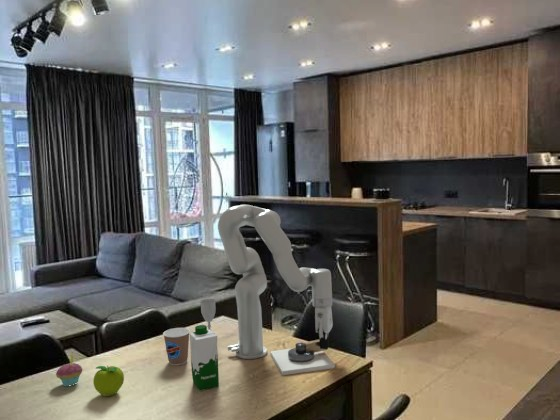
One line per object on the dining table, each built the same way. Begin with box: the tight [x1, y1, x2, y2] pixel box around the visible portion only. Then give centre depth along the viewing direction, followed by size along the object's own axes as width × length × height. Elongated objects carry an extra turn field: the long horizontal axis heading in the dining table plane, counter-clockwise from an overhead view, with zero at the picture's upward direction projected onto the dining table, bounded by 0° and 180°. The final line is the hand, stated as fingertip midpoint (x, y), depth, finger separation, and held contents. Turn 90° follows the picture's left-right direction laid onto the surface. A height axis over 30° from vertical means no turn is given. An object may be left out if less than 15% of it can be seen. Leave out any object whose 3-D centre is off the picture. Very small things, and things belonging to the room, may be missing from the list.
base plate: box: [269, 347, 336, 376], centre depth 181 cm, size 20×20×2 cm
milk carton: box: [189, 324, 220, 391], centre depth 163 cm, size 9×9×20 cm
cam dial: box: [288, 338, 328, 362], centre depth 182 cm, size 16×10×5 cm, turn 116°
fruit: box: [93, 365, 125, 397], centre depth 159 cm, size 9×9×10 cm
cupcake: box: [55, 351, 83, 387], centre depth 169 cm, size 9×8×12 cm
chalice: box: [199, 298, 217, 331], centre depth 206 cm, size 7×7×18 cm
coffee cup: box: [162, 327, 191, 366], centre depth 185 cm, size 10×10×12 cm
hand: (324, 348), depth 182 cm, fingers closed
